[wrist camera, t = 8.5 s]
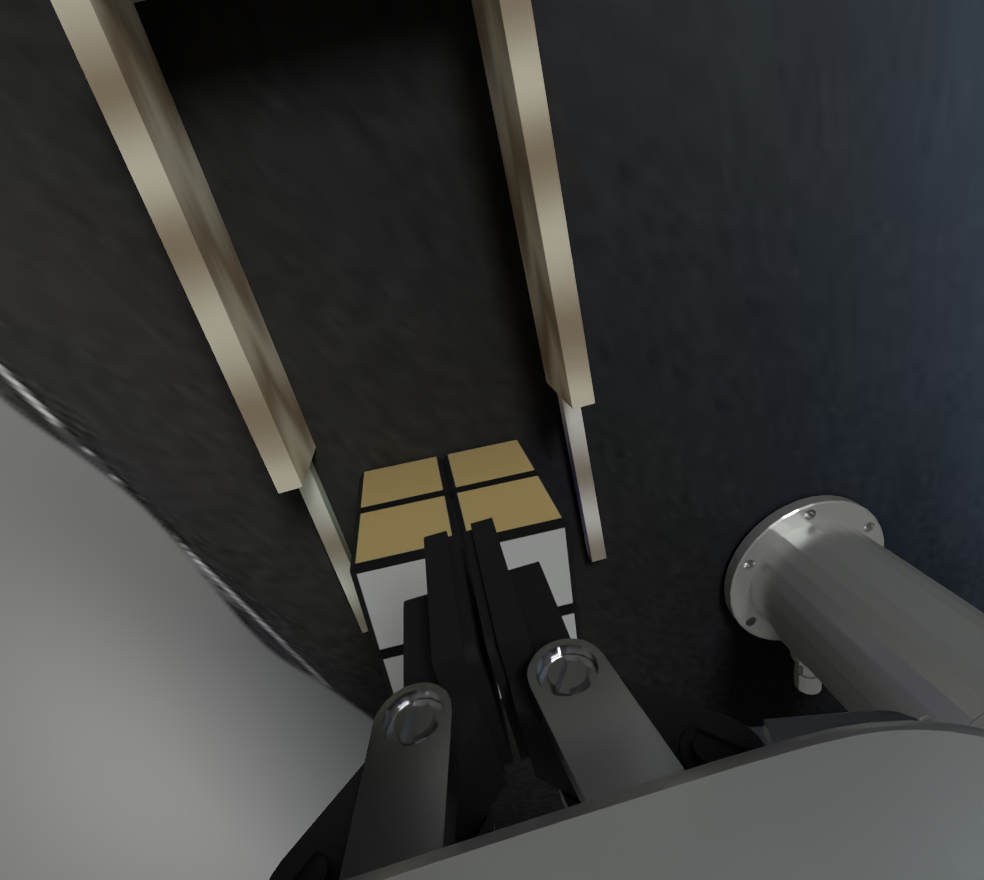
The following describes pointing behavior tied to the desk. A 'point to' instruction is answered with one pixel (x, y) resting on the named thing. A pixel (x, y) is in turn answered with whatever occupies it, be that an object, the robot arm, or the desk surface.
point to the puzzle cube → (452, 507)
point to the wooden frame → (224, 287)
